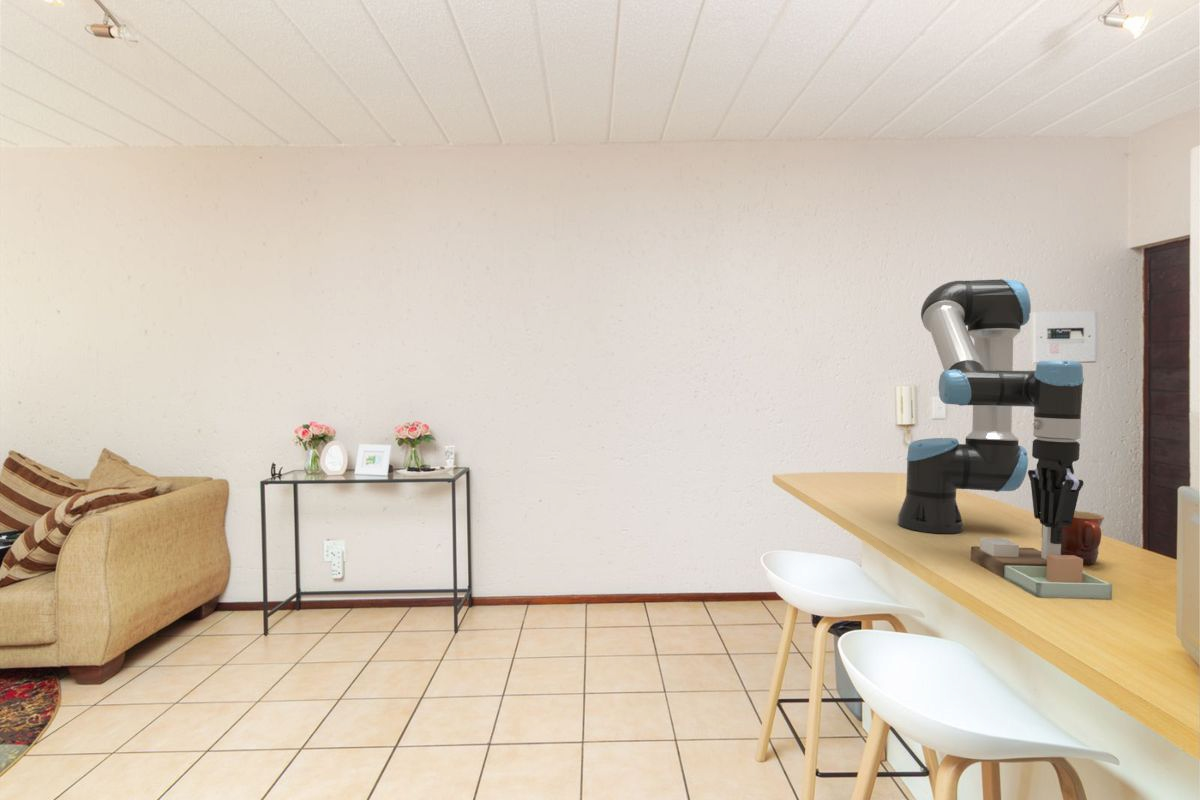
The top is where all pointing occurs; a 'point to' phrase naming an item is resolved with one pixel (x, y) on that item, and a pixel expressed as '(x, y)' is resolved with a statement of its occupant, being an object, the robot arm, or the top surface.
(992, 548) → the tile white
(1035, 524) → the top surface
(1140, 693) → the top surface
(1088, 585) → the tray
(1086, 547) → the mug
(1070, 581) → the tile terracotta
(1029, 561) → the board
